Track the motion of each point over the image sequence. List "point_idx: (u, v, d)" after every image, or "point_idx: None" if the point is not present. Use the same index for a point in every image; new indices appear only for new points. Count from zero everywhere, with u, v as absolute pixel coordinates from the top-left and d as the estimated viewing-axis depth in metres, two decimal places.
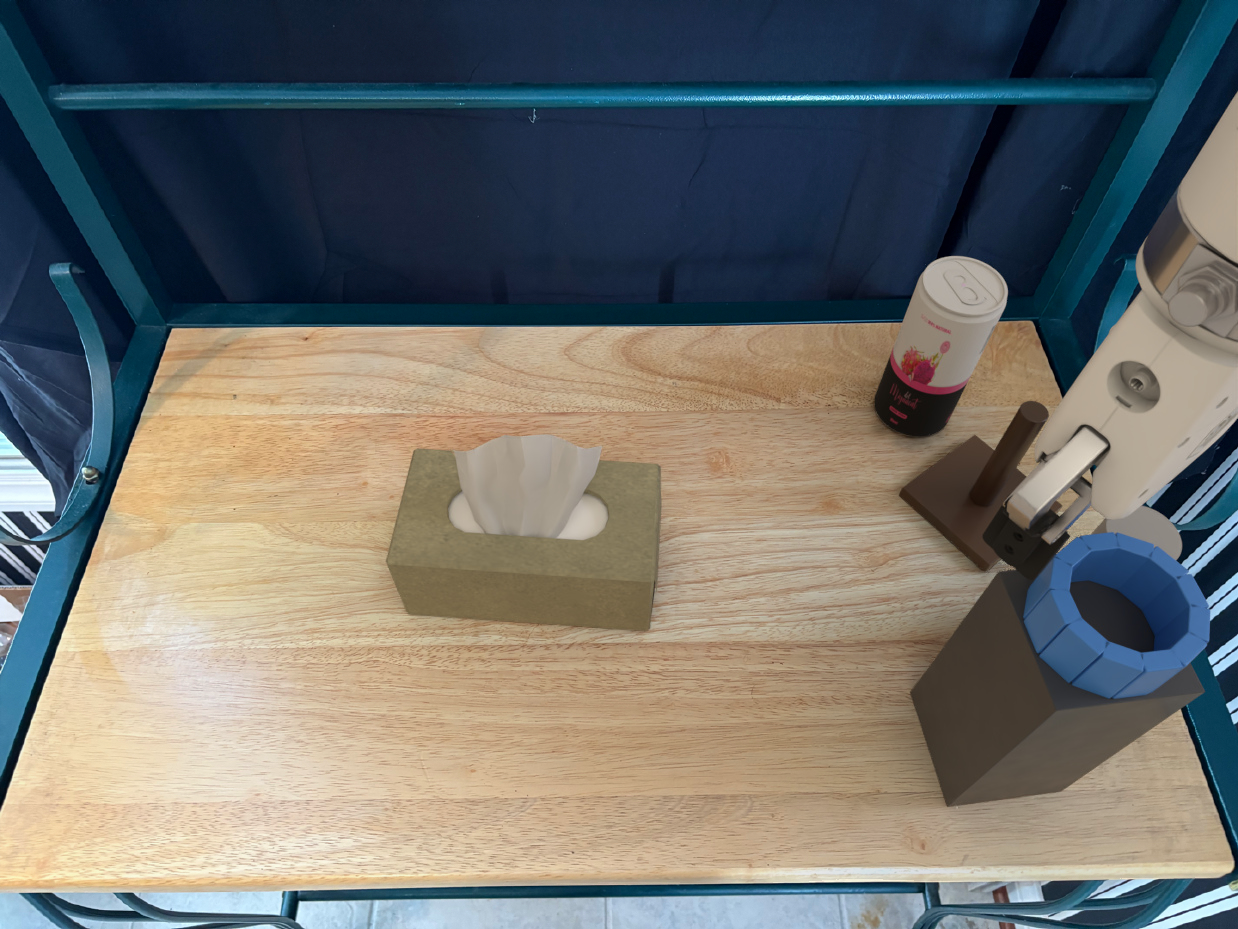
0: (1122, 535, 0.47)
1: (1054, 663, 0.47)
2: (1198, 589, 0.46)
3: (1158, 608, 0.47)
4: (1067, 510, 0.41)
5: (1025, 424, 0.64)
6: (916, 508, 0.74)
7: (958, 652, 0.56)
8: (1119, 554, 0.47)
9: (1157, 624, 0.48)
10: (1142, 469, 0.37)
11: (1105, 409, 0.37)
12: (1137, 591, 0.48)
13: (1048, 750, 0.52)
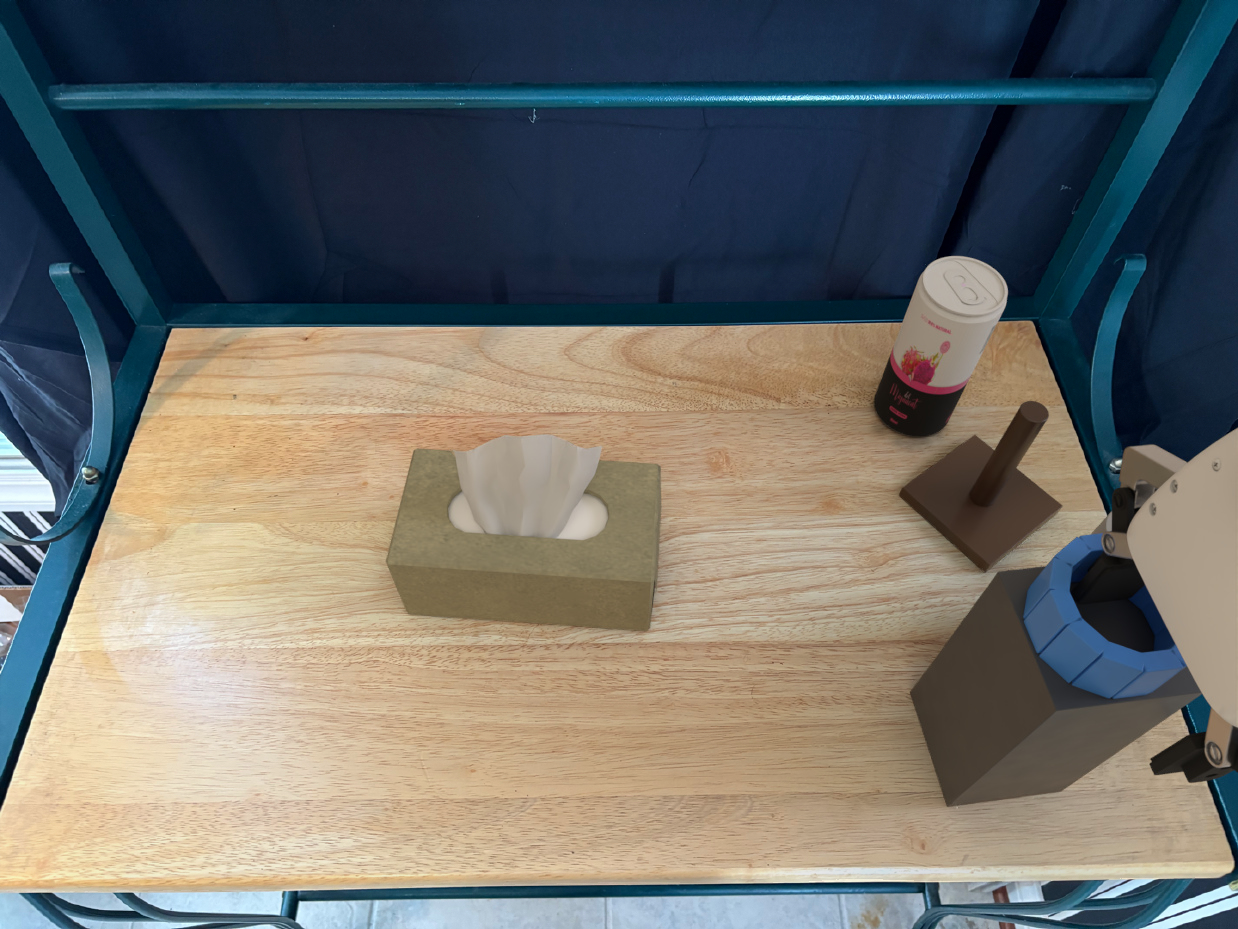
0: None
1: (1054, 663, 0.47)
2: None
3: None
4: None
5: (1025, 424, 0.64)
6: (916, 508, 0.74)
7: (958, 652, 0.56)
8: None
9: (1157, 624, 0.48)
10: None
11: None
12: None
13: (1048, 750, 0.52)
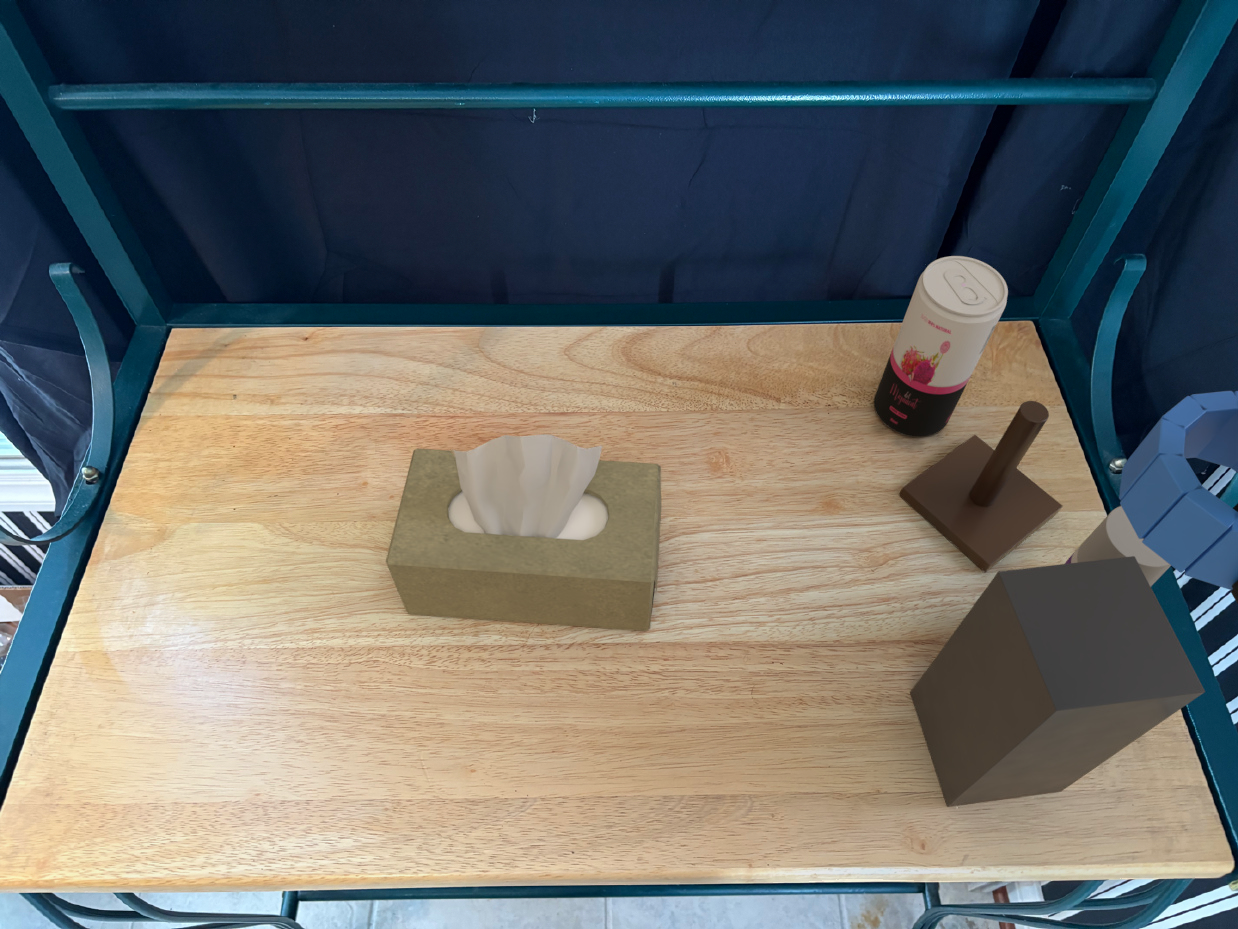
0: None
1: (1163, 548, 0.38)
2: None
3: None
4: None
5: (1025, 424, 0.64)
6: (916, 508, 0.74)
7: (958, 652, 0.56)
8: None
9: None
10: None
11: None
12: None
13: (1048, 750, 0.52)
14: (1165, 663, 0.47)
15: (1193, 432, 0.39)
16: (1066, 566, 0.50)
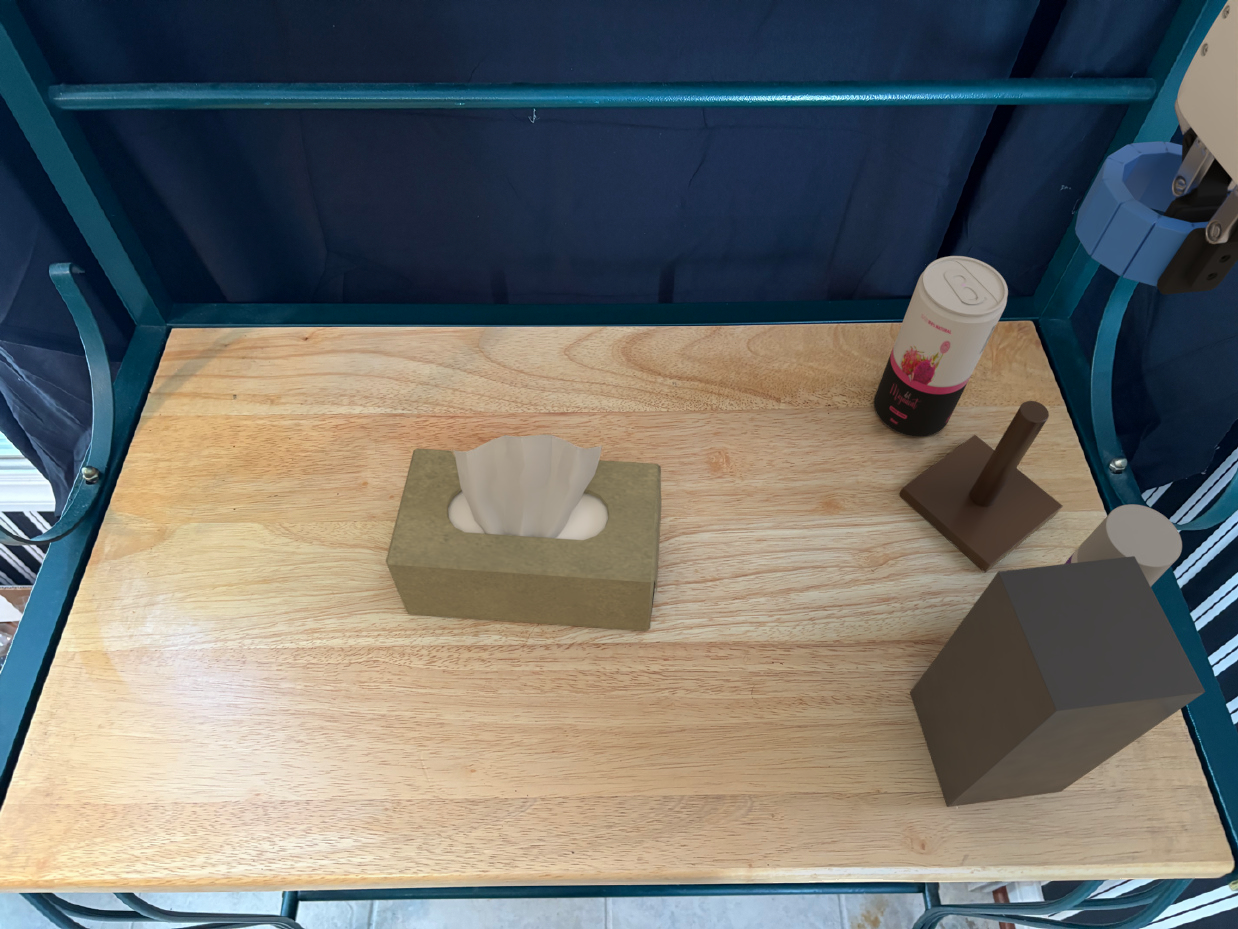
0: (1170, 143, 0.50)
1: (1106, 257, 0.49)
2: None
3: None
4: None
5: (1025, 424, 0.64)
6: (916, 508, 0.74)
7: (958, 652, 0.56)
8: (1167, 160, 0.50)
9: None
10: None
11: None
12: None
13: (1048, 750, 0.52)
14: (1165, 663, 0.47)
15: (1132, 176, 0.51)
16: (1066, 566, 0.50)
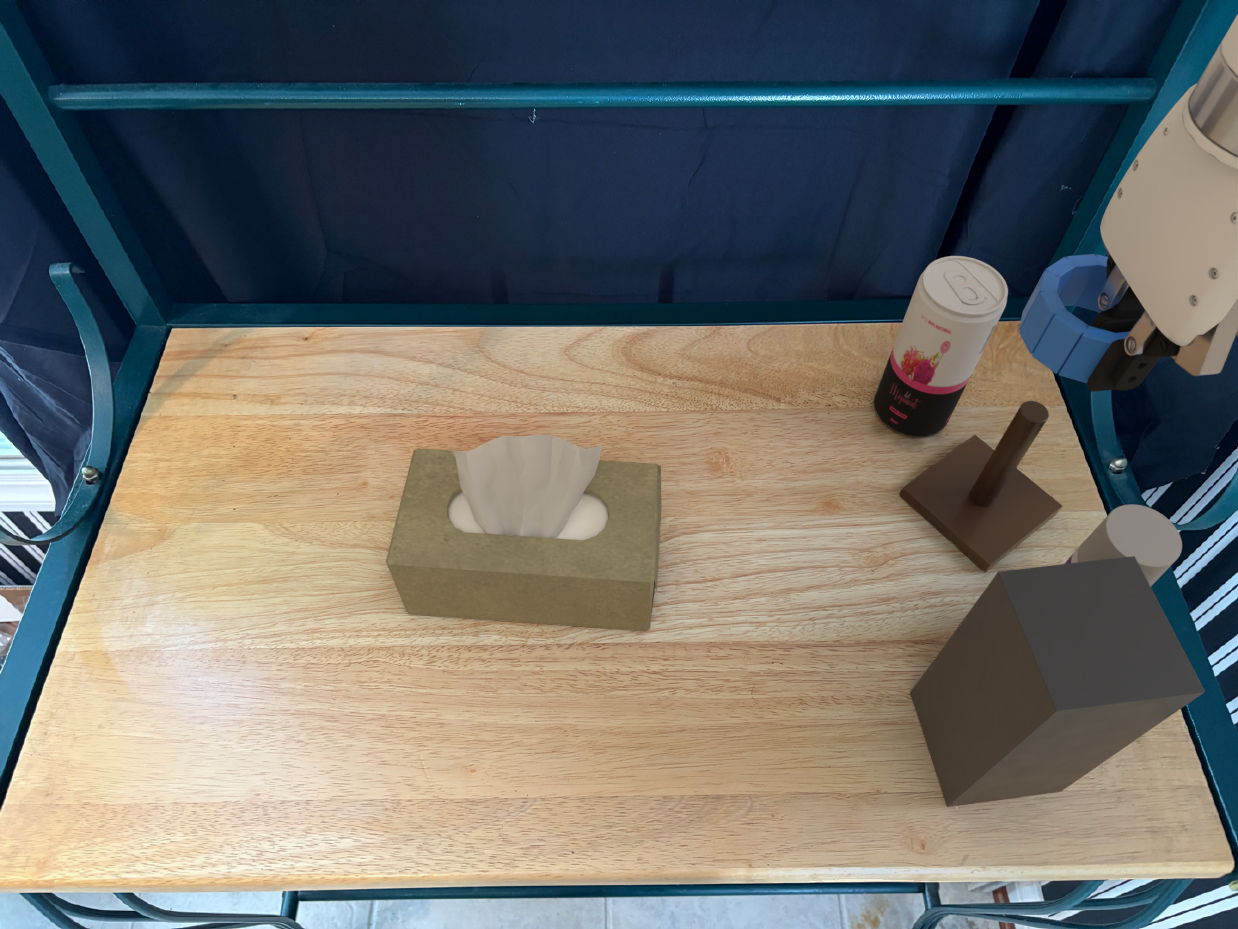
0: (1101, 256, 0.57)
1: (1044, 357, 0.56)
2: None
3: None
4: None
5: (1025, 424, 0.64)
6: (916, 508, 0.74)
7: (958, 652, 0.56)
8: (1098, 271, 0.57)
9: None
10: None
11: None
12: None
13: (1048, 750, 0.52)
14: (1165, 663, 0.47)
15: (1069, 283, 0.58)
16: (1066, 566, 0.50)
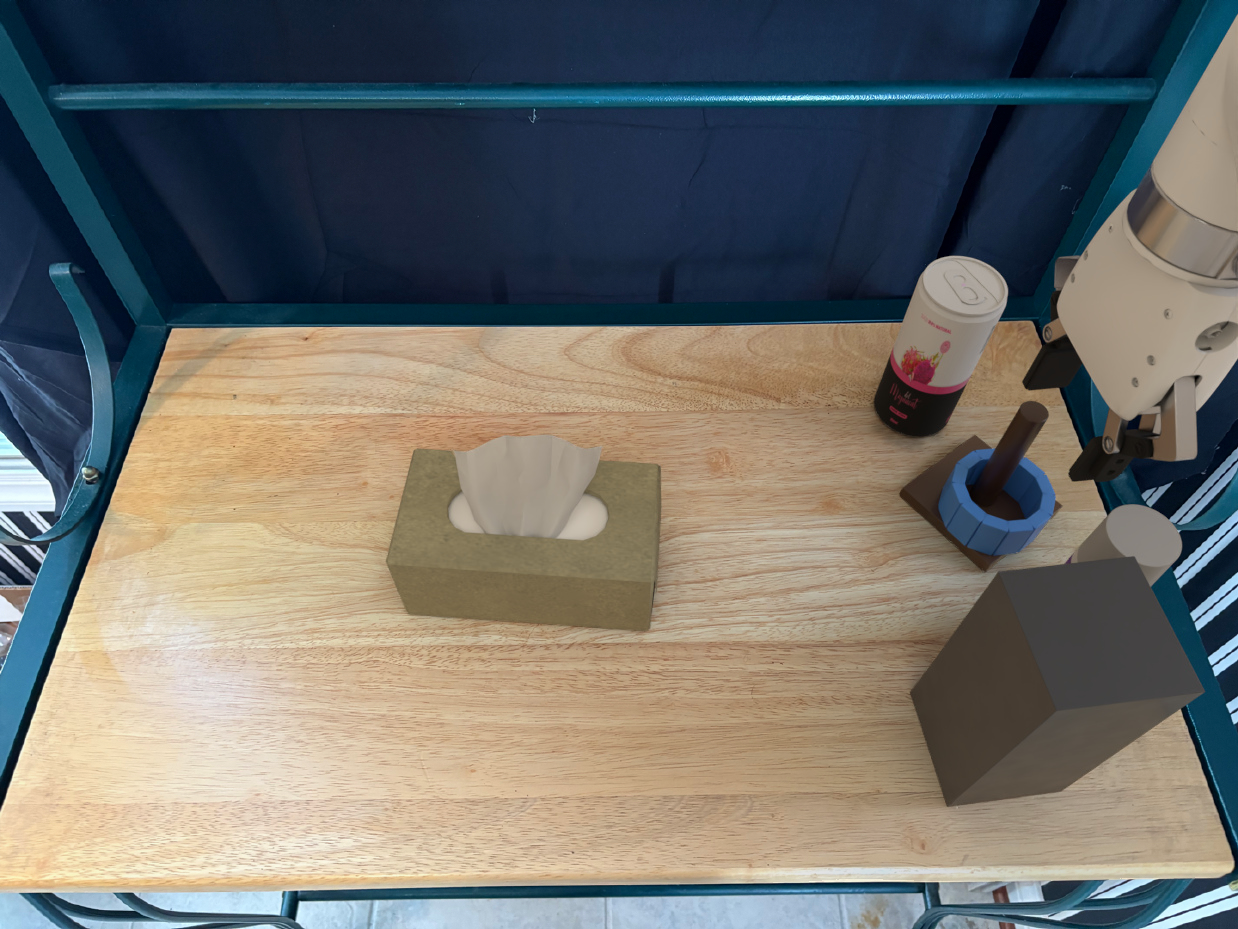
0: None
1: (955, 532, 0.71)
2: (1049, 483, 0.70)
3: (1027, 499, 0.71)
4: (1154, 426, 0.53)
5: (1025, 424, 0.64)
6: (916, 508, 0.74)
7: (958, 652, 0.56)
8: None
9: (1026, 510, 0.72)
10: (1224, 374, 0.49)
11: (1196, 361, 0.48)
12: (1014, 488, 0.72)
13: (1048, 750, 0.52)
14: (1165, 663, 0.47)
15: (978, 470, 0.72)
16: (1066, 566, 0.50)
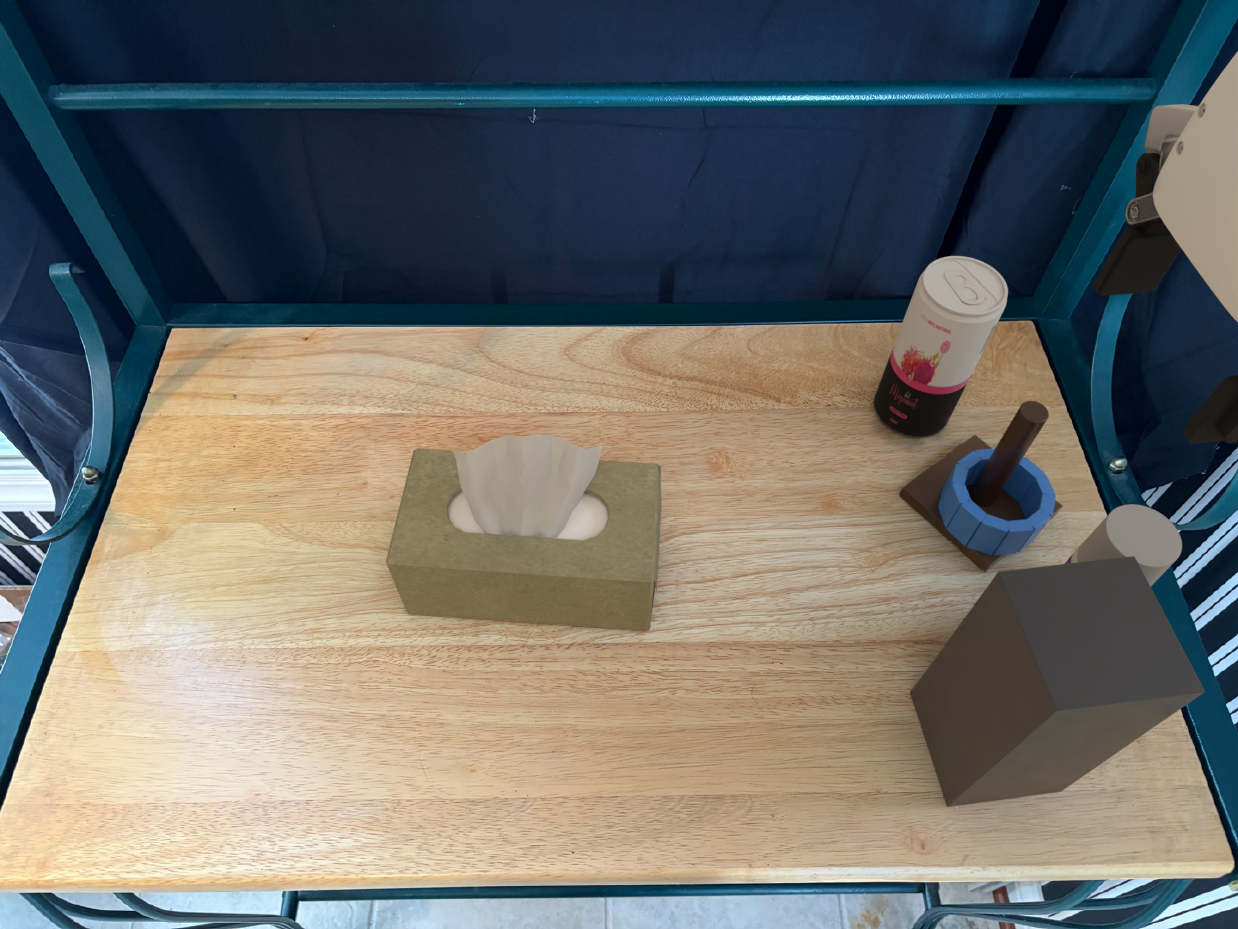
0: None
1: (955, 532, 0.71)
2: (1049, 483, 0.70)
3: (1027, 499, 0.71)
4: None
5: (1025, 424, 0.64)
6: (916, 508, 0.74)
7: (958, 652, 0.56)
8: None
9: (1026, 510, 0.72)
10: None
11: None
12: (1014, 488, 0.72)
13: (1048, 750, 0.52)
14: (1165, 663, 0.47)
15: (978, 470, 0.72)
16: (1066, 566, 0.50)
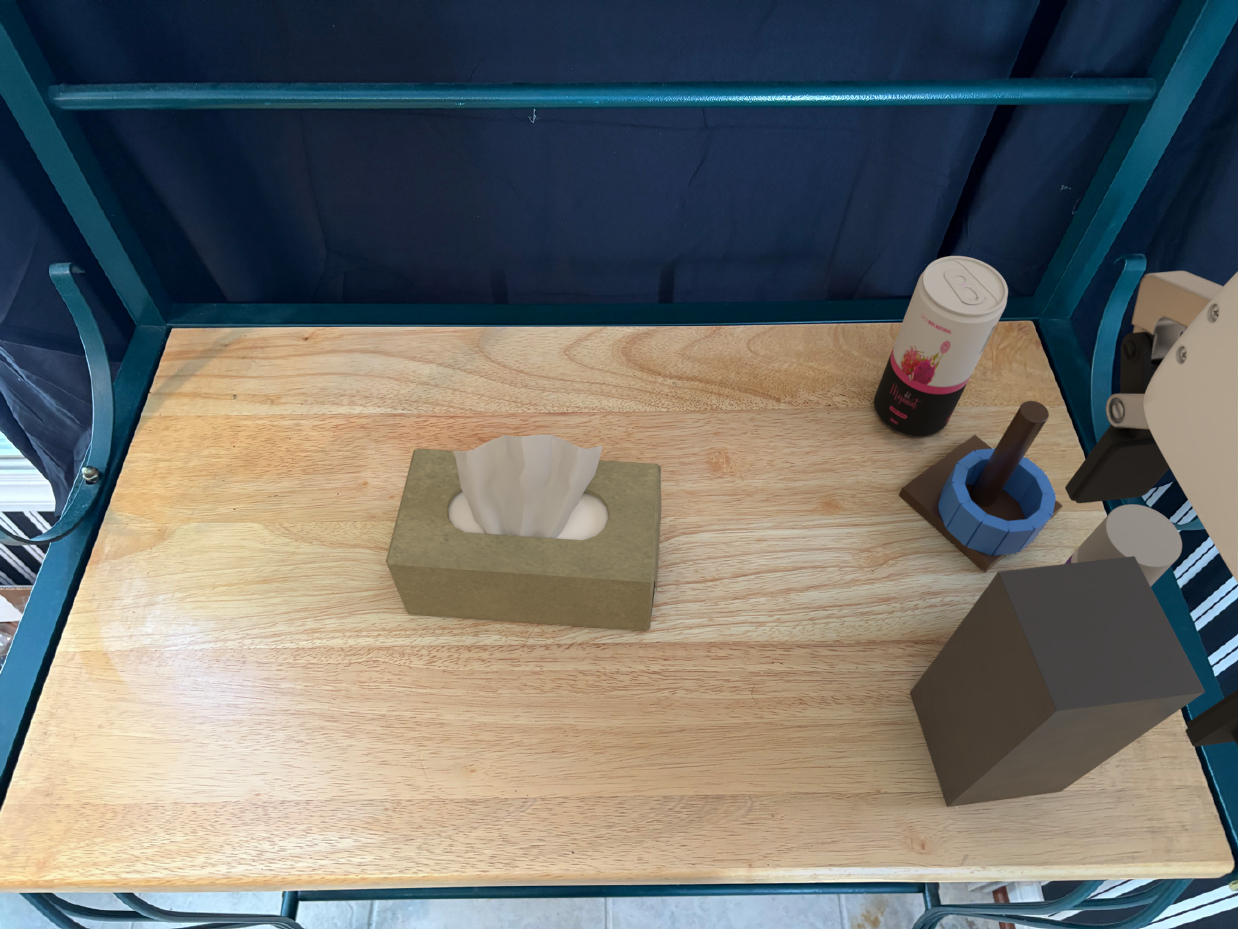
0: None
1: (955, 532, 0.71)
2: (1049, 483, 0.70)
3: (1027, 499, 0.71)
4: None
5: (1025, 424, 0.64)
6: (916, 508, 0.74)
7: (958, 652, 0.56)
8: None
9: (1026, 510, 0.72)
10: None
11: None
12: (1014, 488, 0.72)
13: (1048, 750, 0.52)
14: (1165, 663, 0.47)
15: (978, 470, 0.72)
16: (1066, 566, 0.50)
